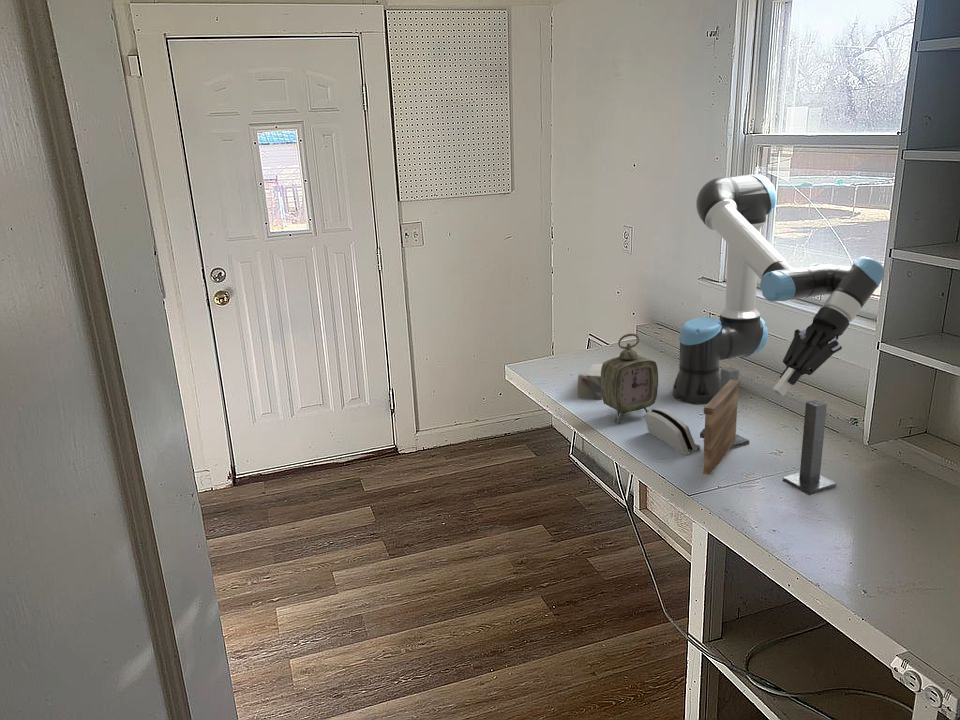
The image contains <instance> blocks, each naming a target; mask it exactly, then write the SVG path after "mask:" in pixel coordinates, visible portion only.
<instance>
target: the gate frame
mask: <svg viewBox="0 0 960 720" xmlns="http://www.w3.org/2000/svg"><path fill="white" fill-rule="evenodd" d="M739 373H740V370H739V369H737V368H734V367H732V366H729V367H724V368H721V370H720V377H721V386H720V390H721V389H722V388H723V387H724V386H725V385H726V384H727V383H728V381H729V380H730V379H733V380H739V377H740V376H739V375H740V374H739ZM827 405H828V404H827V403H826V402H824V401H821V400H818V399H814V400H810V401H806V402H805V409H804V410H805V411H804V420H803V421H804V422H803V432H802V433H803V434H802V445H801V455H800V465H799V467H800V468H799V472H796V473H793V474H789V475H786V476H782V482H784V483H786V484H787V485H789V486H790V487H793V488H795V489H797V490H799V491H800V492H802V493H805V494H806V495H808V496H812V495H816V494H819V493H822V492H825V491H828V490H832V489H835V488H836V487H837V482H835V481H833V480H831V479H829V478H826V477H825V476H823V475H821V468H822V459H823V458H822V457H823V456H822V455H823V448H824V437H825V428H826V427H825V426H826V418H827V408H828V407H827ZM749 444H750V440H749V439H748V438H745V437H744V436H741V435H739V434H737V433H736V438H735V443H734V444H733V445H732V447H731V448H730V449H729V450H731V449H735V448H740V447H742V446H746V445H747V446H748V445H749Z"/></svg>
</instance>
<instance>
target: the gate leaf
mask: <svg viewBox="0 0 960 720" xmlns="http://www.w3.org/2000/svg"><path fill="white" fill-rule="evenodd" d="M740 387H741V380H739V379H738V380H733V379H730V380H729V381H728V383H727V384H726V385H725V386H724V387H723V388H722V389H721V390H720V391H719V392H718V393H717V394H716V395H715V396H714V397H713V398H712V399H711V400H710V401H709V403H706V404H705V406H703V415H704V428H703V429H702V430H701V431H700V433H699V438H700V439H703V458H702V459H703V460H702V461H703V462H702V475H705V476H711V474H712V473H713V471H714V470H715V469H717V466H718V465H719V464H720V462H721V461H722V460H723V458H724V457H725V456H726V455H727V454H728V452H729V451H730V450H731V449H730V448H731V447H732V445H733V444H734V443H735V438H736V434H737V418H738V417H737V416H738V402H739V401H738V399H739V389H740Z"/></svg>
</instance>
